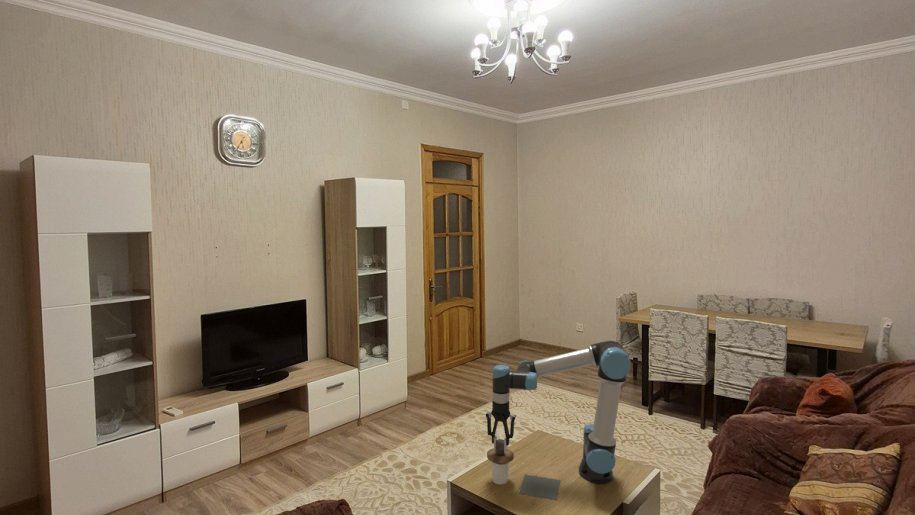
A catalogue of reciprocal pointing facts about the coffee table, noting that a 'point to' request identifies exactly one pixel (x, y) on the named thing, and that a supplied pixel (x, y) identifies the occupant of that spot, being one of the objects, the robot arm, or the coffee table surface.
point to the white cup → (500, 473)
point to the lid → (500, 453)
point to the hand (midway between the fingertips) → (500, 451)
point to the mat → (540, 487)
